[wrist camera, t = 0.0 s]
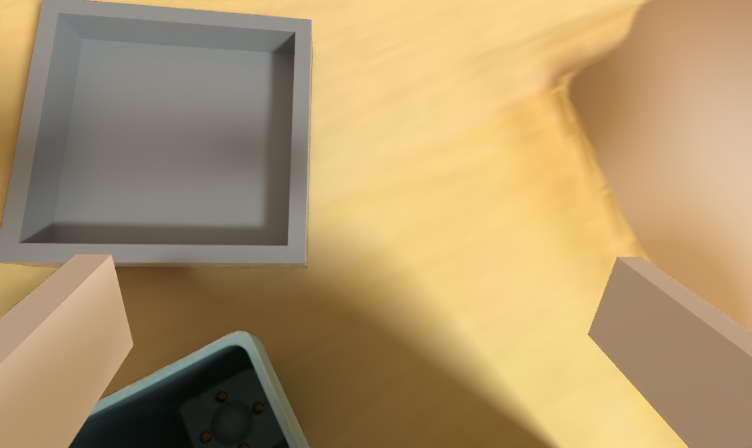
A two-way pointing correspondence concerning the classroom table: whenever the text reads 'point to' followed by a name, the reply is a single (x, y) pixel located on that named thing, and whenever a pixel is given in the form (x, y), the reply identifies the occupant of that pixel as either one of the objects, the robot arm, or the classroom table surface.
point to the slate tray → (162, 139)
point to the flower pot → (199, 404)
